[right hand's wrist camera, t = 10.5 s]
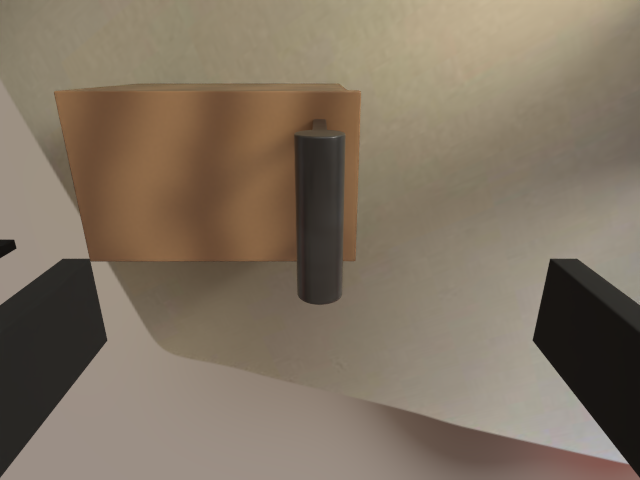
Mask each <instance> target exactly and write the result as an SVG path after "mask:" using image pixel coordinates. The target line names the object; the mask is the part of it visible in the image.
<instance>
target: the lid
mask: <svg viewBox="0 0 640 480" xmlns="http://www.w3.org/2000/svg"><path fill="white" fill-rule="evenodd" d="M54 95H55V99H56V104H57V109H58V113H59V118H60V123H61V127H62V132H63V136H64V141H65V146H66V150H67V155H68V160H69V164H70V169H71V174H72V178H73V183H74V188H75V192H76V197H77V202H78V206H79V211H80V216H81V220H82V225H83V229H84V234H85V239H86V243H87V248H88V253H89V257H90V261H297V293H298V296H299V298H300V299H301V300H303V301H304V302H307V303H310V304H318V305H322V304H329V303H333V302H335V301H337V300H338V299H340V297H341V296H342V275H343V261H355V258H356V228H357V197H358V167H359V137H360V107H361V91H359V90H62V91H54Z"/></svg>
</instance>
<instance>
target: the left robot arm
mask: <svg viewBox="0 0 640 480" xmlns="http://www.w3.org/2000/svg"><path fill="white" fill-rule="evenodd" d="M15 249H16V245H15V241H14V240H0V258H1V257H3V256H5V255H6V254H8V253H10V252H11V251H13V250H15Z"/></svg>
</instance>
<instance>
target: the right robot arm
mask: <svg viewBox="0 0 640 480" xmlns="http://www.w3.org/2000/svg"><path fill="white" fill-rule="evenodd" d="M106 341H107V337H106V332H105V327H104V323H103V318H102V314H101V309H100V304H99V300H98V295H97V290H96V286H95V281H94V276H93V272H92V267H91V262H90V259H62V260H61V261H59V262H58V263H57V264H55V265H54V266H53V267H51V268H50V269H49V270H47V271H46V272H44V273H43V274H42V275H40V276H39V277H38V278H36V279H35V280H34V281H32V282H31V283H30V284H28V285H27V286H26V287H24V288H23V289H22V290H20V291H19V292H18V293H16V294H15V295H13V296H12V297H11V298H9V299H8V300H7V301H5V302H4V303H3V304H1V305H0V477H1V476H2V475H3V473H4V472H5V471H6V470H7V468H8V467H9V466H10V464H11V463H12V462H13V461H14V459H15V458H16V457H17V455H18V454H19V453H20V452H21V450H22V449H23V448H24V447H25V445H26V444H27V443H28V441H29V440H30V439H31V437H32V436H33V435H34V434H35V432H36V431H37V430H38V429H39V427H40V426H41V425H42V423H43V422H44V421H45V420H46V418H47V417H48V416H49V414H50V413H51V412H52V411H53V409H54V408H55V407H56V405H57V404H58V403H59V402H60V400H61V399H62V398H63V397H64V395H65V394H66V393H67V391H68V390H69V389H70V388H71V386H72V385H73V384H74V382H75V381H76V380H77V379H78V377H79V376H80V375H81V374H82V372H83V371H84V370H85V368H86V367H87V366H88V364H89V363H90V362H91V361H92V359H93V358H94V357H95V356H96V354H97V353H98V352H99V350H100V349H101V348H102V347H103V345H104V344H105V343H106ZM533 341H534V343H535V344H536V345H537V347H538V348H539V349H540V350H541V352H542V353H543V354H544V356H545V357H546V358H547V359H548V361H549V362H550V363H551V365H552V366H553V367H554V368H555V370H556V371H557V372H558V374H559V375H560V376H561V377H562V379H563V380H564V381H565V382H566V384H567V385H568V386H569V388H570V389H571V390H572V391H573V393H574V394H575V395H576V397H577V398H578V399H579V400H580V402H581V403H582V404H583V406H584V407H585V408H586V409H587V411H588V412H589V413H590V414H591V416H592V417H593V418H594V420H595V421H596V422H597V423H598V425H599V426H600V427H601V429H602V430H603V431H604V432H605V434H606V435H607V436H608V438H609V439H610V440H611V441H612V443H613V444H614V445H615V447H616V448H617V449H618V450H619V452H620V453H621V454H622V455H623V457H624V458H625V459H626V461H627V462H628V463H629V464H630V466H631V467H632V468H633V470H634V471H635V472H636V473H637V475H638V476H639V477H640V305H639V304H637V303H636V302H635V301H633V300H632V299H631V298H629V297H628V296H627V295H625V294H624V293H622V292H621V291H620V290H618V289H617V288H616V287H614V286H613V285H612V284H610V283H609V282H608V281H606V280H605V279H604V278H602V277H601V276H600V275H598V274H597V273H596V272H594V271H593V270H591V269H590V268H589V267H587V266H586V265H585V264H583V263H582V262H581V261H579V260H578V259H550V262H549V267H548V272H547V276H546V281H545V286H544V290H543V295H542V300H541V304H540V309H539V313H538V318H537V323H536V327H535V332H534V337H533Z"/></svg>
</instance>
